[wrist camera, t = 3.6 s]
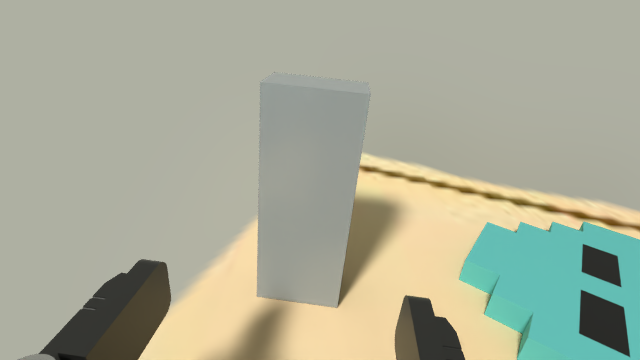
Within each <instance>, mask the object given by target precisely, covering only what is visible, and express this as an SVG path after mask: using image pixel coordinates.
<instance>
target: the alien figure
mask: <svg viewBox="0 0 640 360" xmlns="http://www.w3.org/2000/svg"><path fill="white" fill-rule="evenodd" d="M459 280H461V281H463V282H465V283H467V284H470V285H472V286H474V287H476V288H478V289H480V290H482V291H484V292H487V293H489V294H491V298H490V301H489V303H488V306H487V308H486V311H485V313H484V315H486V316H488V317H490V318H492V319H494V320H496V321H498V322H500V323H502V324H504V325H506V326H508V327H510V328H512V329H514V330H516V331H518V332H520V333H522V334H523V335H522V339H521V343H520V348H519V352H518V356H517V360H640V240H639V239H636V238H633V237H630V236H627V235H623V234H620V233H617V232H614V231H611V230H608V229H605V228H602V227H599V226H596V225H593V224H590V223H587V222H583V224H582V226H581V228H580V230H576V229H573V228H570V227H567V226H564V225H561V224H558V223H555V222H552V224H551V227H550V229H549V231H545V230H543V229H540V228H537V227H534V226H531V225H528V224H525V223H523V222H520V225H519V227H518V230H517V232H513V231H511V230H508V229H505V228H502V227H500V226H497V225H494V224H492V223H489V222H487V224H486V225H485V227H484V229H483V231H482V232H481V234H480V236H479V238H478V239H477V241H476V243H475V245H474V246H473V248H472V250H471V251H470V253H469V255H468V257H467V258H466V260H465V263H464V266H463V269H462V272H461V275H460V278H459Z"/></svg>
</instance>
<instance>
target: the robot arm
mask: <svg viewBox="0 0 640 360" xmlns="http://www.w3.org/2000/svg"><path fill="white" fill-rule="evenodd" d="M170 302H171V293H170V285H169V279H168V271H167V265H166V263H164V262H159V261H151V260H144V259H142V260H139V261H138V262H137V263H136V264H135V265H134V266H133V268H132V269H131V270H130V271H129V272H128V273H127V274H126V273H120V274H119V275H117V276H115V277H114V278H112V279H111V280H109V281H107V282H106V283H105V284H104V285H103V286H102V287H101V288H100V289H99V290H98V291H97V292H96V293H95V294H94V295H93V298H92V299H90V300H89V301H88V302H87V303H86V304H85V305H84V306H83V309H81V310H79V312H78V313H77V314H76V315H75V316H74V317H73V318H72V319H71V320H70V321H69V322H68V323H67V324H66V325H65V326H64V328H63V329H62V330H61V331H60V332H59V333H58V334H57V335H56V336H55V337H54V338H53V339H52V340H51V341H50V342H49V344H48V345H47V346H46V347H45V348H44V349H43V350H42V351H41V352H40V353H39V354H35V355H30V356H26V357H23V358H21V359H18V360H138V359H139V357H140V355H141V354H142V352H143V351H144V349H145V347H146V346H147V344H148V343H149V341H150V340H151V338H152V336H153V335H154V333H155V332H156V330H157V328H158V327H159V325H160V324H161V322H162V321H163V319H164V317H165V316H166V314H167V312H168V309H169V306H170ZM461 349H462V348H461V345H460V342H459V339H458V336H457V333H456V331H455V330H454V329H453V327H452V326H451V325H450V323H449V322H448V321H447V319H446V318H443V317H436V316H434V312H433V308H432V304H431V301H430V299H428V298H421V297H414V296H407V295H406V296H405V297H404V300H403V304H402V307H401V311H400V315H399V319H398V323H397V326H396V331H395V352H396V360H465V358H464V354H463V352H462V351H461Z"/></svg>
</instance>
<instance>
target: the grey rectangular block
mask: <svg viewBox="0 0 640 360" xmlns="http://www.w3.org/2000/svg"><path fill="white" fill-rule="evenodd" d="M369 101H370V89H369V84H368V82H358V81H350V80H341V79H332V78H321V77H314V76H305V75H296V74H287V73H278V72H274V73H272V74H271V75H269V76H268V77H267V78H265V79H264V80H262V81H261V82H260V135H259V196H258V198H259V200H258V256H257V297H264V298H271V299H278V300H286V301H293V302H300V303H307V304H314V305H321V306H328V307H335V308H337V306H338V300H339V294H340V287H341V281H342V274H343V268H344V261H345V255H346V249H347V242H348V236H349V229H350V223H351V217H352V210H353V204H354V197H355V191H356V185H357V178H358V172H359V165H360V159H361V153H362V146H363V140H364V133H365V127H366V121H367V114H368V108H369Z"/></svg>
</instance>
